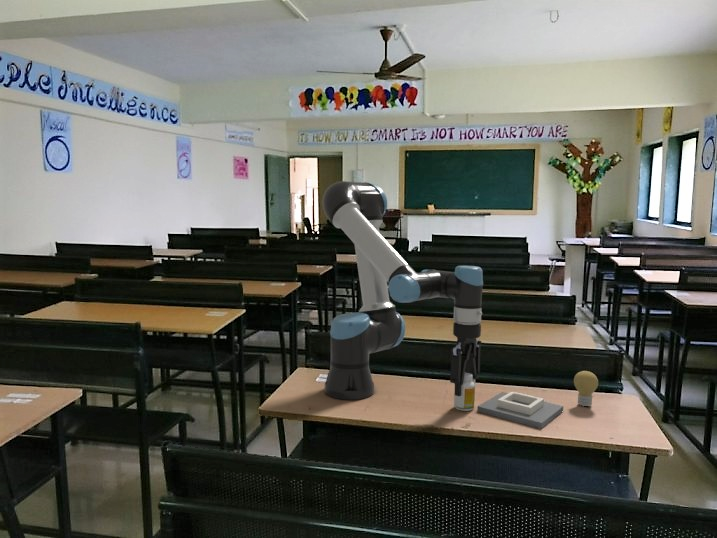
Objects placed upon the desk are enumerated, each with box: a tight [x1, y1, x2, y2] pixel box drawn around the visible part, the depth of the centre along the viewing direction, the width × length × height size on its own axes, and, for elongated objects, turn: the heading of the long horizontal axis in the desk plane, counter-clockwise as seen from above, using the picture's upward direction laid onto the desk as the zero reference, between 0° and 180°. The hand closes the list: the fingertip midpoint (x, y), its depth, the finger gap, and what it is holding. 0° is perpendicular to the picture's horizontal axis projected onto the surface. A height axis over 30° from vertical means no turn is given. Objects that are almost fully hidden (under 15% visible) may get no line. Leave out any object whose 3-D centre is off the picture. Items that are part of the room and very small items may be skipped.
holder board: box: [476, 391, 564, 430], centre depth 148 cm, size 18×16×4 cm
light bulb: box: [573, 370, 599, 407], centre depth 154 cm, size 6×6×10 cm
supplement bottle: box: [454, 371, 476, 412], centre depth 150 cm, size 5×5×10 cm
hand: (464, 403), depth 151 cm, fingers closed on supplement bottle, 5 cm apart
